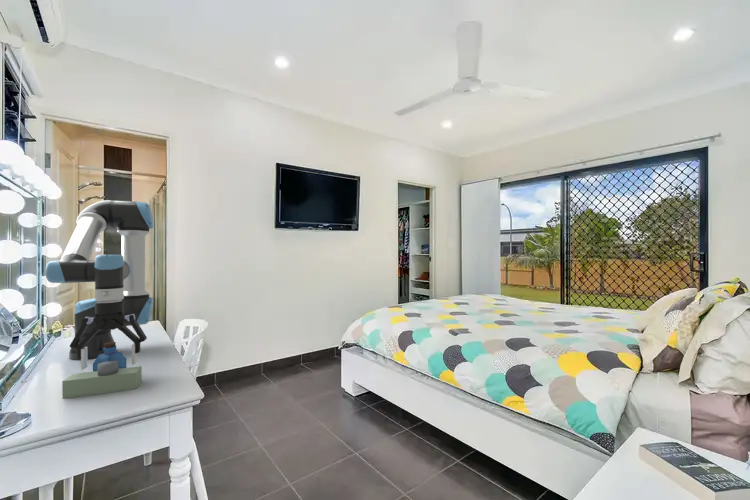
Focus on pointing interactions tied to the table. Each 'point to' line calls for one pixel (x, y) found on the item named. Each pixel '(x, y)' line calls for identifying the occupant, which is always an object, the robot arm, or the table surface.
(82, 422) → the table surface
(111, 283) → the robot arm
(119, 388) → the green slab with knob
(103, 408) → the table surface
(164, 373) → the table surface
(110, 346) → the perfume bottle
